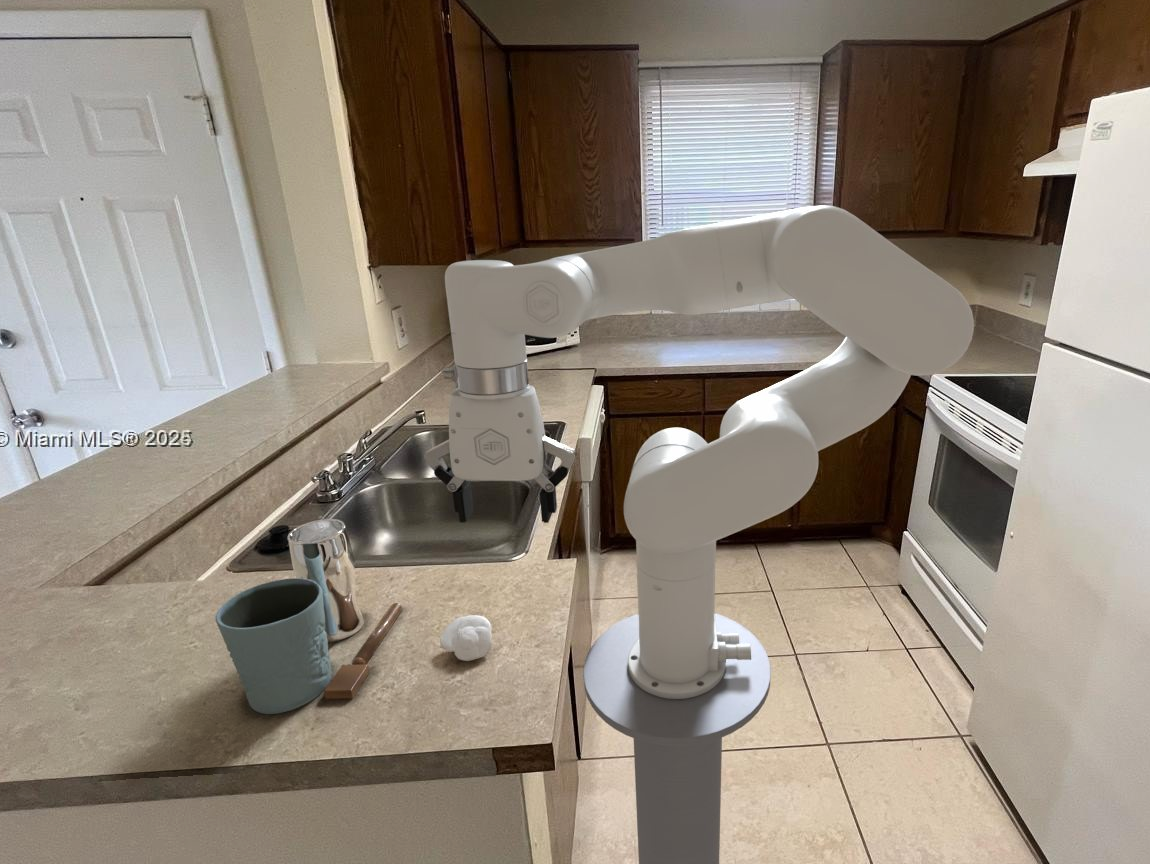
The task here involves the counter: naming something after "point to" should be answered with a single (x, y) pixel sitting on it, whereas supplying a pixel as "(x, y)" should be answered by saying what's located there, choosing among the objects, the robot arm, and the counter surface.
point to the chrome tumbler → (329, 572)
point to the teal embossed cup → (278, 643)
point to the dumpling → (468, 637)
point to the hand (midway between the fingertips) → (507, 517)
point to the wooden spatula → (360, 660)
